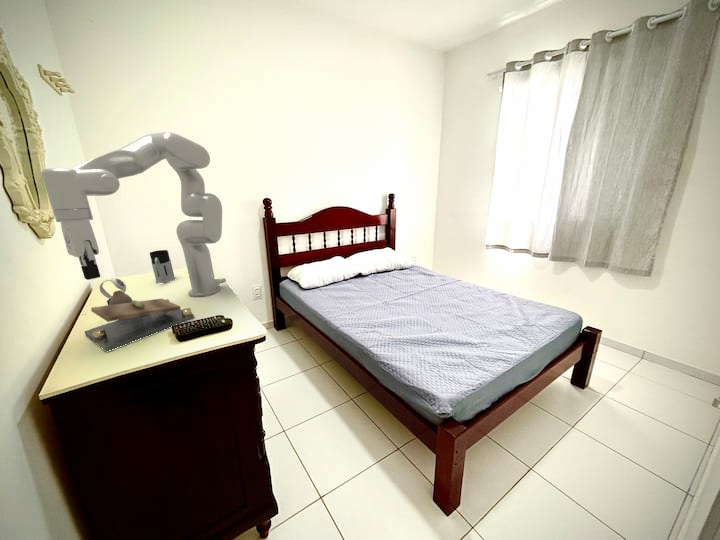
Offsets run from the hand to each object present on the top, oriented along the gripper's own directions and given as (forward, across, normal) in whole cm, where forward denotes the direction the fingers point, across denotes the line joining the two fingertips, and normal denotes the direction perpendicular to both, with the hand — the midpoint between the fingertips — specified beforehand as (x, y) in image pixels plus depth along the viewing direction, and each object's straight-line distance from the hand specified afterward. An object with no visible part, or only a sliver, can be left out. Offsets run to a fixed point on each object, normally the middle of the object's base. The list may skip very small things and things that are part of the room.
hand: (92, 278), depth 85 cm
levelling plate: (+14, 0, +9) cm, 16 cm away
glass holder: (+19, -44, +35) cm, 60 cm away
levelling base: (+20, 0, +9) cm, 22 cm away
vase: (+20, -19, +10) cm, 29 cm away
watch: (+20, -31, +12) cm, 39 cm away
